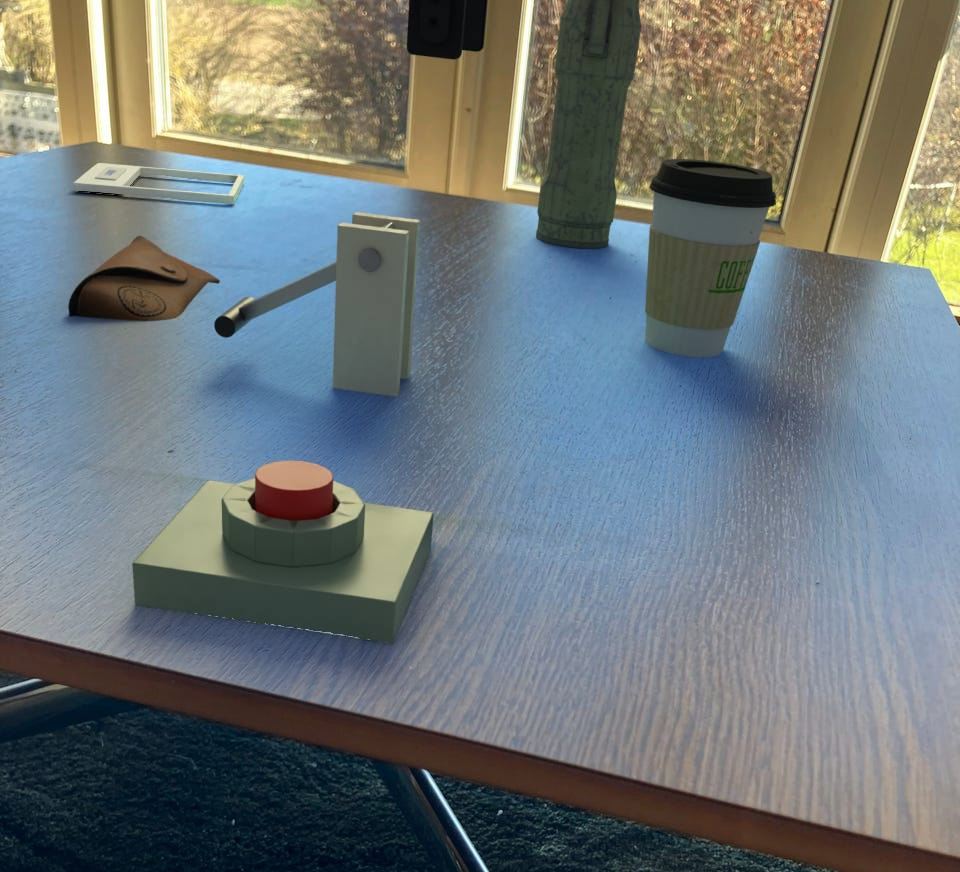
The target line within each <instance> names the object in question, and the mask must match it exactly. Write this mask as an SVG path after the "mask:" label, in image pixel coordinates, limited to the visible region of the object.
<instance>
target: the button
mask: <svg viewBox="0 0 960 872" xmlns="http://www.w3.org/2000/svg"><path fill="white" fill-rule="evenodd" d="M254 478H255V509H256V511H257V512H259V513H261V514H263V515H265V516H267V517H270V518H276V519H283V520H290V521H300V520H313V519H319V518H321V517H324V516H326V515H329V514H331V513H332V505H333V481H334V475H333V473H332V471H331V470H330V469H329V468H326V467H325V466H323V465H320V464H318V463H314V462H311V461H310V462H309V461H303V460H279V461H272V462H269V463H266V464H263V465H261V466H260V467H259V468H257V469H256V471H255V474H254Z"/></svg>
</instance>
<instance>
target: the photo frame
mask: <svg viewBox="0 0 960 872" xmlns="http://www.w3.org/2000/svg"><path fill="white" fill-rule="evenodd" d="M141 173H146V174H154V175H165V176H172V177H179V178H180V177H181V178H188V179H187V180H191V179H197V180H196V181H203V180H204V181H205V182H215V183H227V184H233V185H232V187H231V189H230V191H229V193H228V194H225V193H216V192H215V193H213V192H200V191H191V190H189V191H188V190H180V189H179V190H177V189H167V188H154V187H143V186H133V184H134V183H133V181H134V180H135V179H136V178H137V177H138V176H139V175H140V174H141ZM179 178H178V179H179ZM132 183H133V184H132ZM131 184H132V185H131ZM244 184H245V175H243V174H232V173H221V172H220V173H219V172H209V171H196V170H186V169H185V170H184V169H174V168H162V167H150V166H141V165H140V166H139V165H130V164H129V165H128V164H116V163H107V162H105V163H104V162H97V163H96V164H95V165H93V166H92V167H91V168H89V170H87V171H86V172H85V173H83V174H82V175H81V176H80V177H79V178H77V179H76V180H75V181H73V191H74V192H78V191H98V192H106V193H107V192H108V193H120V194H132V195H133V194H134V195H144V196H152V197H161V198H160V199H162V198H171V199H170V200H174V199H177V200H176V201H186V202H198V203H209V204H210V203H211V204H212V203H213V204H223V205H235V203H236V201H237V199H238V196H240V193H241V191H242V190H243V189H242V188H243V187H244ZM130 185H131V186H130Z"/></svg>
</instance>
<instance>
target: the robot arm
mask: <svg viewBox="0 0 960 872" xmlns="http://www.w3.org/2000/svg"><path fill="white" fill-rule="evenodd" d="M488 2H489V1H488V0H408V14H407V31H406V32H407V33H406V50H407V52H408V54H410V55H412V56H419V57H428V58H435V59H436V58H437V59H444V60H455V61H456V60H458V59H460V58H461V57H462V54H463V51H465V52H466V51H468V52H475V53H479V52H481V51H482V50H483V49H484V47H485V38H486V28H487V27H486V25H487V14H488Z"/></svg>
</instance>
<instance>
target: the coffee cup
mask: <svg viewBox="0 0 960 872" xmlns="http://www.w3.org/2000/svg"><path fill="white" fill-rule="evenodd" d="M773 183H774V181H773V175H772V174H771V173H770V172H768V171H765V170H762V169H758V168H754V167H751V166H746V165H739V164H735V163H728V162H721V161H713V160H704V159H694V158H693V159H691V158H690V159H689V158H671V159H664V160H662V162H661V164H660V167H659V169H658V172H657V174H656V175H655V176H653V177H652V179H651V182H650V184H649V186H648V189H650V191H652V192H653V201H652V202H653V203H652V218H651V219H652V220H651V224H650V225H649V231H648V233H649V234H648V252H647V267H646V268H647V270H646V288H645V289H646V290H645V302H644V303H645V305H644V312H645V314H646V317H645V318H646V320H645V333H644V336H645V337H644V340H645V343H646V344H647V345H648V346H650V347H651V348H653V349H655V350H658V351H660V352H664V353H668V354H671V355H675V356H683V357H688V358H689V357H691V358H711V357H712V358H713V357H716V356H719V355H721V354H723V351H724V349H725V346H726V343H727V339H728V337H729V333H730V330H731V327H732V326H733V325H734V324H735V320H736V317H737V315H738V311H739V308H740V306H741V302H742V300H743V299H742V298H743V296H744V293H745V289H746V288H747V287H746V286H747V283H748V280H749V277H750V274H751V272H752V268H753V265H754V262H755V260H756V256H757V253H758V250H759V247H760V244H761V240H760V238H761V234H762V232H763V228H764V224H765V222H766V219H767V217H768V216H767V215H768V213H769V210H770V208H772V207H775V205H776V206H777V200H776V198H777V194H776V192H775V191H774V186H773V185H774V184H773Z"/></svg>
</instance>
